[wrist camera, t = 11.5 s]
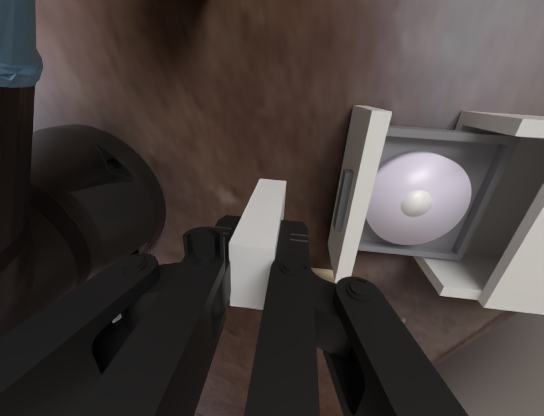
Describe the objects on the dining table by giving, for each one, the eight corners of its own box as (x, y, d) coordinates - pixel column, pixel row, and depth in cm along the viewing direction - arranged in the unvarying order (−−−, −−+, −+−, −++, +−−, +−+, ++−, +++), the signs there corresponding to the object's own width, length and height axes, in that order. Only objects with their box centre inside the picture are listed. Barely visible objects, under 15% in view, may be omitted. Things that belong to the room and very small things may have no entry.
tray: (322, 243, 27) (327, 281, 21) (346, 104, 21) (362, 109, 15) (441, 255, 26) (479, 299, 20) (502, 114, 20) (578, 124, 14)
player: (410, 252, 26) (444, 303, 20) (461, 110, 20) (534, 120, 14) (530, 264, 25) (605, 321, 19) (621, 121, 19) (776, 136, 13)
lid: (439, 239, 23) (449, 249, 22) (352, 230, 24) (356, 240, 22) (475, 154, 20) (489, 159, 18) (372, 146, 20) (378, 150, 19)
